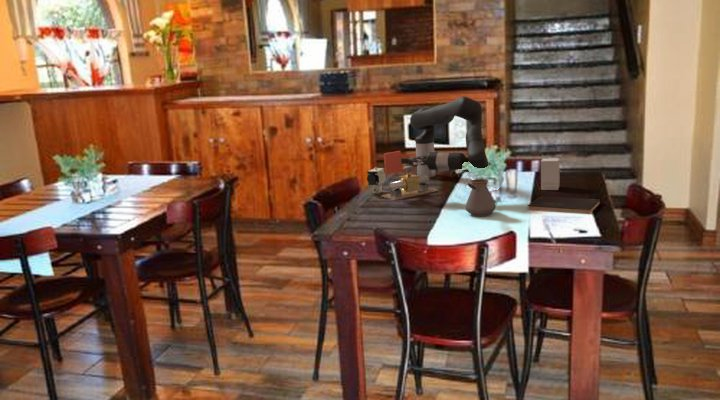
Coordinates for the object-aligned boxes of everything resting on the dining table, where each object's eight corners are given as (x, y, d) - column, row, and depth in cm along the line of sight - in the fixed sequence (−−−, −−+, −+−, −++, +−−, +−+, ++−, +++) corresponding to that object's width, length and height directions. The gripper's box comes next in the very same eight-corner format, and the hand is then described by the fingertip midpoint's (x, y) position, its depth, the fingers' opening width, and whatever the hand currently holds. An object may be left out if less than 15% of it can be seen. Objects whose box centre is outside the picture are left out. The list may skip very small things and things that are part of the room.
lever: (409, 169, 281) (407, 148, 279) (414, 170, 278) (413, 149, 276) (383, 174, 274) (381, 153, 272) (388, 175, 270) (387, 154, 268)
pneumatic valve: (367, 195, 284) (365, 169, 282) (378, 190, 294) (376, 165, 292) (378, 196, 282) (376, 169, 279) (389, 190, 292) (387, 165, 289)
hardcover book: (590, 215, 226) (590, 209, 225) (527, 211, 238) (527, 205, 238) (600, 205, 239) (600, 199, 238) (540, 201, 251) (540, 196, 251)
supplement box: (558, 190, 266) (558, 160, 263) (540, 190, 269) (540, 161, 266) (560, 186, 273) (559, 157, 270) (542, 186, 275) (542, 158, 273)
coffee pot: (470, 209, 245) (468, 172, 242) (499, 210, 240) (498, 172, 237) (453, 224, 226) (452, 183, 223) (485, 225, 221) (483, 184, 218)
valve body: (424, 187, 291) (422, 165, 289) (437, 190, 283) (436, 168, 280) (381, 197, 279) (379, 174, 277) (394, 200, 271) (392, 176, 268)
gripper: (444, 149, 265) (407, 149, 273) (434, 154, 254) (395, 154, 262) (445, 166, 267) (408, 166, 275) (434, 173, 256) (396, 172, 264)
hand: (401, 160), depth 268 cm, fingers closed
